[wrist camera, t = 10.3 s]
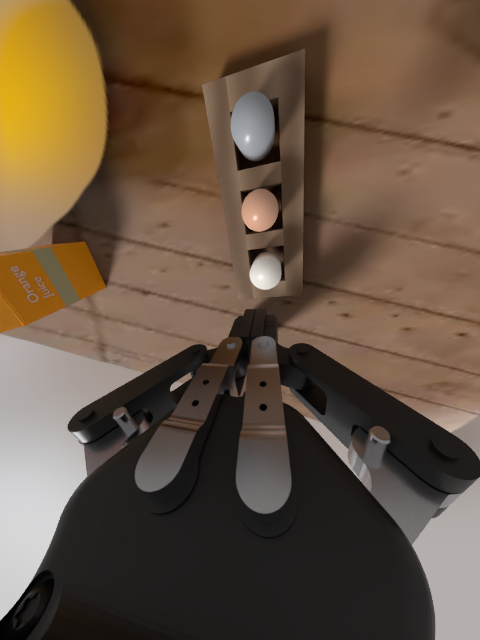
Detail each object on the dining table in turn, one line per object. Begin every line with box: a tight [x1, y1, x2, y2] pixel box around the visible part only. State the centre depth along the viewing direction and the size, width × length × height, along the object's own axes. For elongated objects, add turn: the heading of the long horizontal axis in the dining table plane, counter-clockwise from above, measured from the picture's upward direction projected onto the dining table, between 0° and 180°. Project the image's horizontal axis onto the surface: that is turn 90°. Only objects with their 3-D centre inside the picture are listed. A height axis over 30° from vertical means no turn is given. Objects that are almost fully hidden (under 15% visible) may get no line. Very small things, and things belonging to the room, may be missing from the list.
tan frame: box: [202, 49, 305, 299], centre depth 25 cm, size 10×24×3 cm, turn 9°
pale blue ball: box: [231, 92, 275, 161], centre depth 19 cm, size 4×4×4 cm
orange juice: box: [0, 242, 106, 333], centre depth 28 cm, size 8×9×20 cm
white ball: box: [249, 252, 281, 290], centre depth 25 cm, size 4×4×4 cm
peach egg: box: [242, 189, 278, 232], centre depth 22 cm, size 4×4×4 cm
